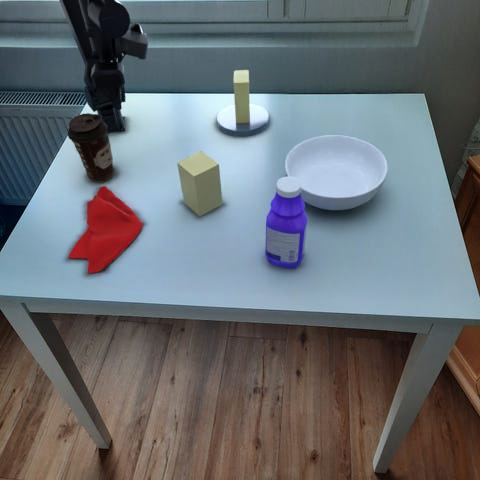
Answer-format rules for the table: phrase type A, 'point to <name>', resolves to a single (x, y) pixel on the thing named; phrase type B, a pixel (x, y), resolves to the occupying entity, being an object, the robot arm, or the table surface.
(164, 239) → the table surface
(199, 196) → the butter block
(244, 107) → the butter slice
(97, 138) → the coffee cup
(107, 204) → the cloth
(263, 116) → the saucer
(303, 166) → the serving bowl
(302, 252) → the bottle
